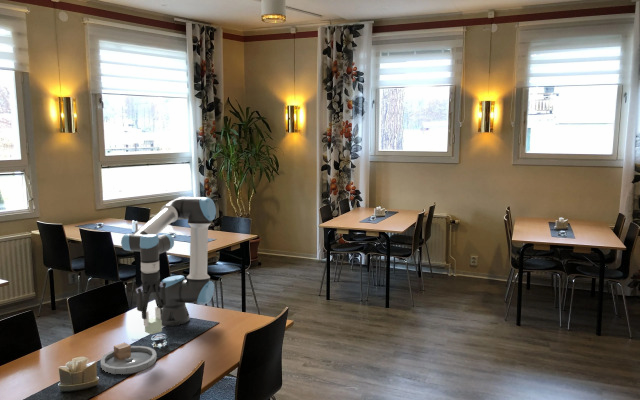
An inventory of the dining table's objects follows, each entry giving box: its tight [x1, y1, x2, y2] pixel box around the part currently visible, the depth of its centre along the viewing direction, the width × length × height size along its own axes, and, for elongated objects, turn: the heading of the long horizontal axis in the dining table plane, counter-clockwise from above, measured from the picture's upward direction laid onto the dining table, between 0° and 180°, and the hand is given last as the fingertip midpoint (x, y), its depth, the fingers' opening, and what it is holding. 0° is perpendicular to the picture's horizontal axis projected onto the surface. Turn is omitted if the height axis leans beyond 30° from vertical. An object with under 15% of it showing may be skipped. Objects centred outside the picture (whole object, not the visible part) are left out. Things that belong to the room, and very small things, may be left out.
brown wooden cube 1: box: [113, 342, 132, 360], centre depth 225 cm, size 5×5×5 cm
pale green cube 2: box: [144, 317, 163, 335], centre depth 224 cm, size 5×5×5 cm
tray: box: [100, 345, 158, 375], centre depth 221 cm, size 22×22×3 cm
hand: (152, 323), depth 224 cm, fingers closed on pale green cube 2, 5 cm apart
